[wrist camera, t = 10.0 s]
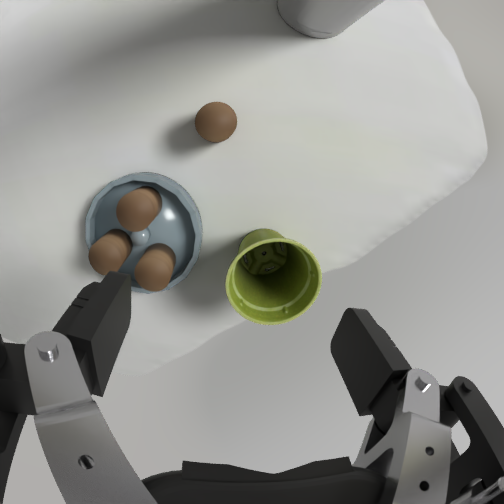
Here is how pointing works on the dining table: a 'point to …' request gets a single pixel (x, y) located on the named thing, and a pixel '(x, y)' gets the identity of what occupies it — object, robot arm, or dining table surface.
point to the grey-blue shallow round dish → (159, 231)
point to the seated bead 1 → (110, 251)
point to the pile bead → (216, 122)
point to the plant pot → (272, 279)
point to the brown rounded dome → (139, 208)
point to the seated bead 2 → (155, 267)
